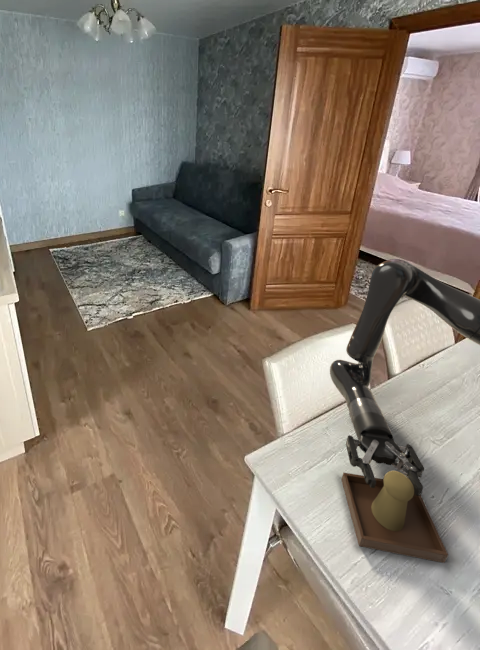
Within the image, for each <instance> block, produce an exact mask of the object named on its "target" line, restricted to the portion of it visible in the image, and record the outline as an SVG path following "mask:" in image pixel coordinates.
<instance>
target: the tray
mask: <svg viewBox="0 0 480 650" xmlns="http://www.w3.org/2000/svg"><path fill="white" fill-rule="evenodd" d="M383 479H384V478H379V477H375V480H376V485H375V488H371V487H370V486H369V484H367V483H366V481H365V478H364V475H363V474H362V475H360V474H357V473H355V474H354V473H349V472H343V473H342V475H341V483H342V487H343V491H344V495H345V499H346V502H347V506H348V509H349V513H350V518H351V521H352V525H353V529H354V532H355V537H356V540H357V544H358V547H363V548H367V549H372V550H377V551H382V552H387V553H392V554H398V555H401V556H407V557H412V558H418V559H422V560H426V561H427V560H428V561H433V562H437V563H443V564H445V563H446V561H447V560H448V558H449V552H448V551H447V549H446V547H445V544H444V543H443V541H442V538H441V537H440V533H439V532H438V529H437V526H436V525H435V523H434V521H433V518H432V516H431V513H430V512H429V509H428V507H427V506H426V505H427V504H426V503H425V501H424V498H423V497H422V495H421V494H422V493H421V494H420V496H417V495H415V494H414V495H413V497H412V498H411V499H410V500H409V501H408V502H407V509H406V516H405V522H404V527H403V528H402V529H401V530H399V531H392V530H389V529H387V528H385V527H384V526H382V525H381V524H380V523H379V522H378V521H377V520H376V518H375V517H374V515H373V513H372V508H371V506H372V503H373V501H374V500H375V498H376V497H377V495H378V494H379V492H380V491H381V489H382V488H383V486H384V482H383Z"/></svg>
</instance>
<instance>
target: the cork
mask: <svg viewBox="0 0 480 650" xmlns="http://www.w3.org/2000/svg"><path fill="white" fill-rule="evenodd" d="M382 479H383V482H384V486H383V488H382V489H381V491H380V492H379V494H378V495H377V497H376V498H375V500H374V501H373V503H372V506H371V508H372V513H373V515H374V517H375V518H376V520H377V521H378V522H379V523H380V524H381V525H382V526H384V527H385V528H387V529H389V530H392V531H399V530H401V529H402V528H403V527H404V522H405V516H406V509H407V502H408V501H409V500H410V499H411V498H412V497H413V495H414V486H413V484H412V482H411V481H410V479H409V478H408V476H406V475H405V474H404V473H403V472H402V471H399V470H389V471H387V472H386V473H385V474H384V476H383V478H382Z"/></svg>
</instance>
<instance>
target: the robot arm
mask: <svg viewBox="0 0 480 650" xmlns="http://www.w3.org/2000/svg"><path fill="white" fill-rule="evenodd" d="M403 296H404V297H407V298H409V299H410V300H412V301H415V302H417V303H419V304H420V305H422V306H424V307H426V308H427V309H429V310H430V311H431V312H433V313H434V314H435V315H436V316H438V318H440V319H441V320H442V321H443V322H444V323H445V324H446V325H448V327H450V328H452V329H453V330H454V331H455V332H456V333H458V334H460V335H461V336H463V337H465V339H468V340H470V341H472V342H473V343H475V344H477V345H479V346H480V298H477V297H475V296H473V295H471V294H469V293H466V292H464V291H462V290H459V289H457V288H454V287H452V286H450V285H448V284H446V283H444V282H442V281H440V280H439V279H436V278H435V277H433V276H432V275H430V274H428V273H427V272H425V271H423V270H422V269H420V268H419V267H417V266H415V265H413V264H412V263H411V262H409V261H407V260H404V259H400V258H390V259H386V260H385V261H383V262H381V263H378V265H376V266H375V267H374V268H373V270H372V271H371V275H370V281H369V285H368V290H367V294H366V299H365V302H364V305H363V309H362V310H361V313H360V316H359V318H358V320H357V322H356V325H355V327H354V329H353V331H352V334H351V336H350V338H349V341H348V343H347V344H346V345H347V346H346V351H345V352H346V354H347V356H349V357H350V358H351V359H352V360H354V361H356V362H357V363H355V362H352V361H348V360H345V359H335V360H334V361H333V362H332V363H331V364H330V366H329V376H330V379H331V381H332V383H333V385H334V386H335V388H336V389H337V390H338V392H339V393H340V395H341V396H342V397H343V398H344V400H345V403H346V406H347V409H348V412H349V417H350V421H351V424H352V426H353V428H354V432H355V434H356V437H357V439H355V438H354V437H353V436H352V435H350V434H349V435H347V438H346V440H345V441H346V443H345V447H346V451H347V455H348V459H349V463H350V466H352V467H354V468H355V467H357V468H359V469H360V470H361V472H362V476H364V478H365V481H366V483H367V484H369V486H370V487H371V488H375V485H376V480H375V478H376V477H375V475H374V474H375V473H374V472H373V468H372V466H371V463H372V462H375V463H376V464H385V465H388V466H393V468H395V470H396V471H398V472H401V473H403V474H404V475H406V476H407V477H408V478H409V479H410V481H411V482H412V484H413V486H414V494H415V495H417V496H420V494H422V493H423V490H424V485H423V483H422V482H421V479H420V478H422V476H423V473H424V471H425V466H424V465H423V463H422V461H421V460H420V458H419V455H418V454H417V453H416V451H415V449H414V447H413V446H412V445H411V444H409V443H406V445H405V446H404V445H403V446H402V445H399V444H398V443H397V442H396V441H395V439H394V435H393V433H392V431H391V429H390V426H389V424H388V422H387V419H386V418H385V415H384V413H383V412H382V409H381V408H380V406H379V405H378V402H377V401H376V398H375V396H374V394H373V391H372V390H371V389H370V387H369V386H370V385H371V382H372V372H373V371H372V369H373V362H374V358H375V356H376V354H377V351H378V349H379V347H380V345H381V343H382V340H383V337H384V335H385V331H386V328H387V324H388V320H389V318H390V316H391V314H392V312H393V310H394V308H395V307H396V305H397V304H398V303H399V301H400V300H401V299H402V297H403ZM358 447H359V449H360V450H361V451H362V452H363V453H364V455H363V457H362V458H361V457H360V456H359V453H358V451H357V450H358ZM397 459H398V461H397Z"/></svg>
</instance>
